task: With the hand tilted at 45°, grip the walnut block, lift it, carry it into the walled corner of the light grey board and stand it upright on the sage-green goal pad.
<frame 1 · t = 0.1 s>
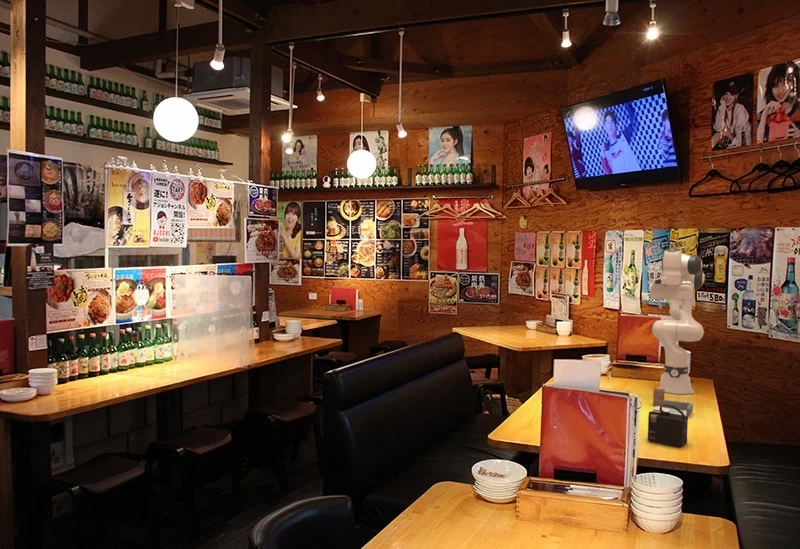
hand: (670, 308, 321), 48 cm above the table, tool pointing down, fingers open, 8 cm apart
black portable radio: (667, 442, 259), on the table
walnut block: (658, 405, 317), on the table
corner arena: (672, 413, 303), on the table
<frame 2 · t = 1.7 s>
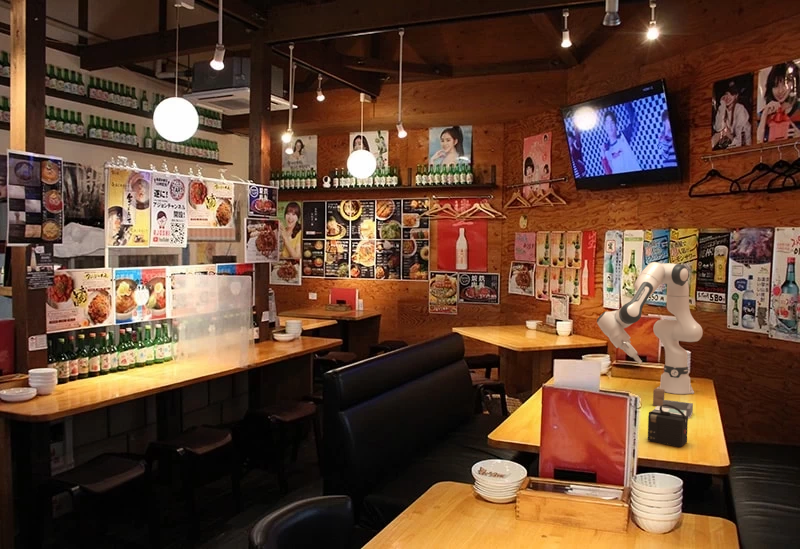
hand: (640, 362, 319), 21 cm above the table, tool tilted 40°, fingers open, 8 cm apart
nothing on the table moved.
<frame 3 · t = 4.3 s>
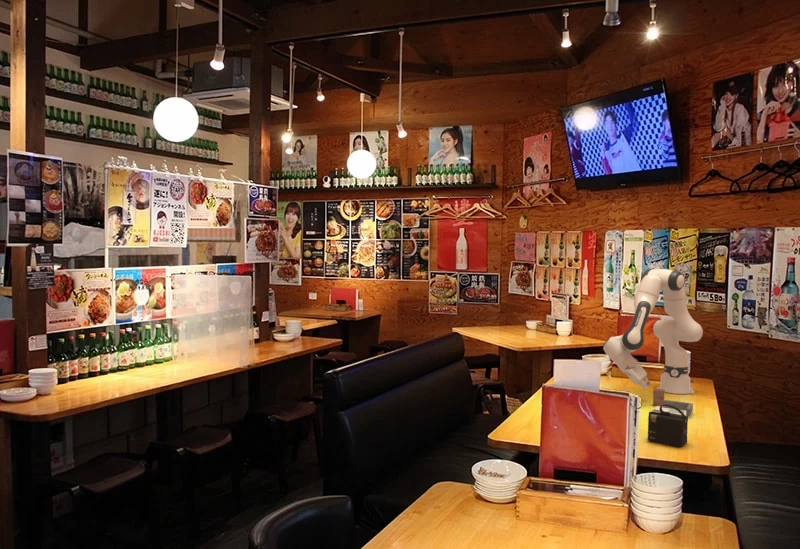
hand: (648, 386, 319), 9 cm above the table, tool tilted 45°, fingers open, 8 cm apart
nothing on the table moved.
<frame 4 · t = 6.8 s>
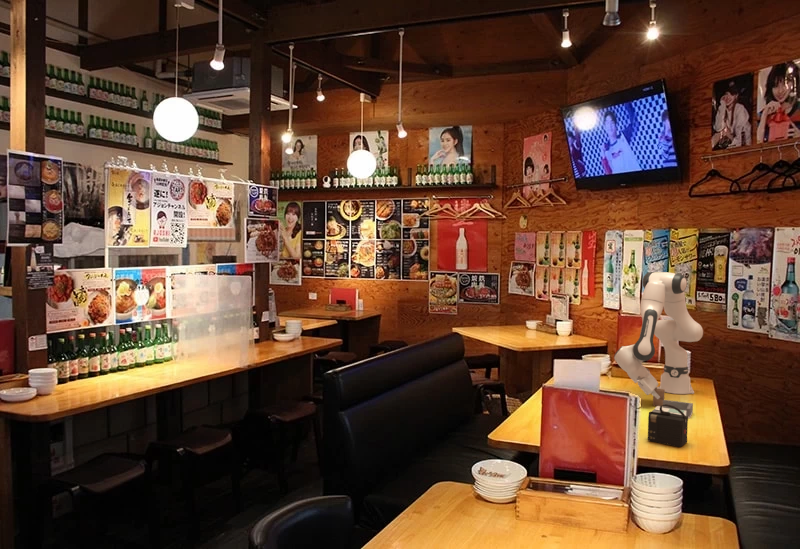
hand: (660, 397, 317), 4 cm above the table, tool tilted 45°, fingers closed on walnut block, 4 cm apart
walnut block: (658, 405, 317), on the table, touching gripper
everything else where it was.
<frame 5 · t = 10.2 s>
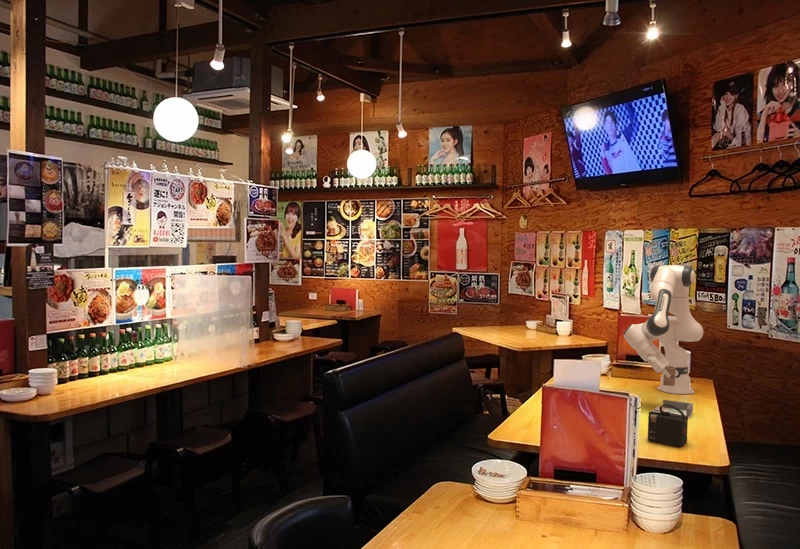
hand: (670, 375, 307), 17 cm above the table, tool tilted 45°, fingers closed on walnut block, 4 cm apart
walnut block: (669, 384, 308), point 12 cm above the table, touching gripper
everything else where it was.
when the fingers open (7 cm above the table, at t = 14.0 s): walnut block drops 1 cm, resting on corner arena.
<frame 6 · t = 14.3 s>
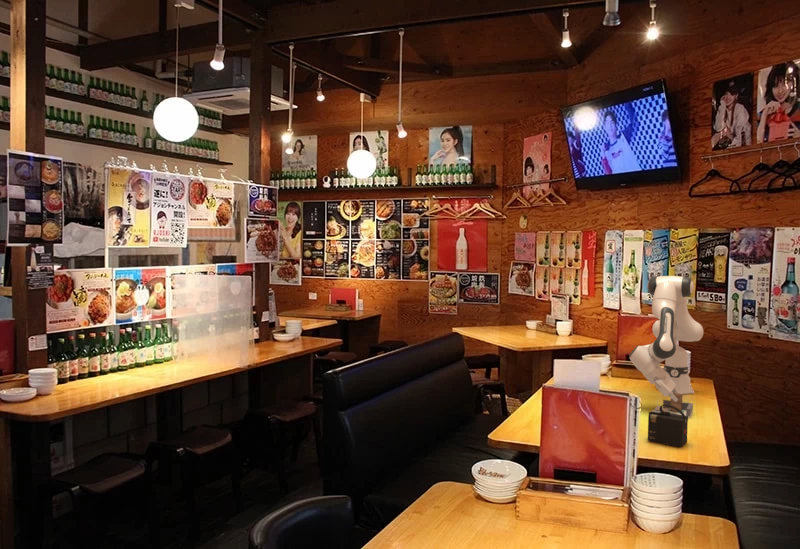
hand: (678, 398, 302), 7 cm above the table, tool tilted 45°, fingers open, 7 cm apart
walnut block: (676, 410, 303), point 1 cm above the table, touching corner arena
everything else where it was.
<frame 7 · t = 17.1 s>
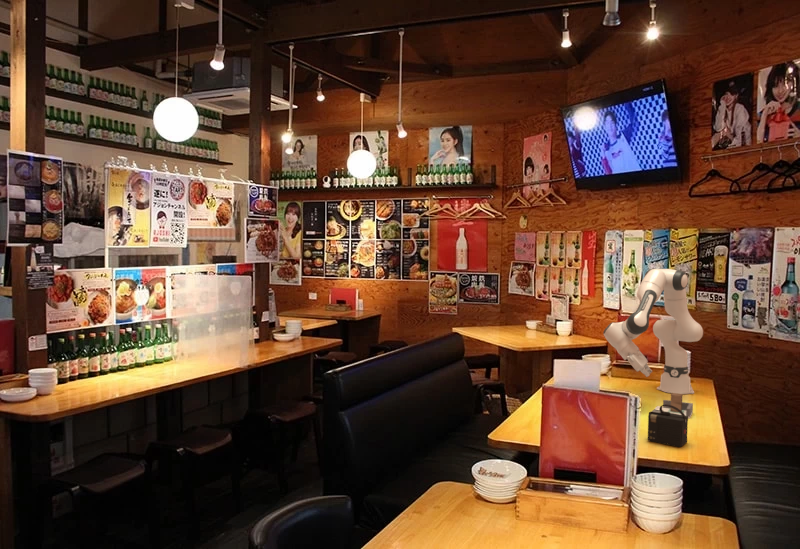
hand: (649, 374, 309), 17 cm above the table, tool tilted 45°, fingers open, 8 cm apart
nothing on the table moved.
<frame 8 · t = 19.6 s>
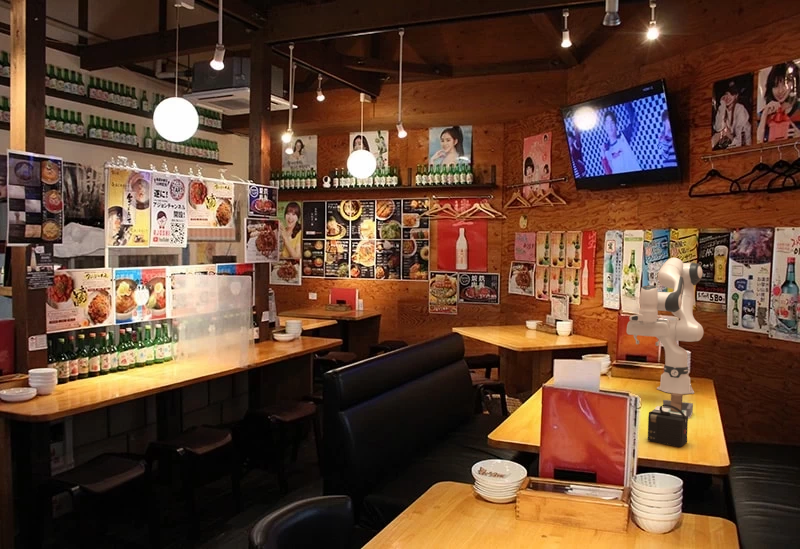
hand: (647, 344, 324), 29 cm above the table, tool pointing down, fingers open, 8 cm apart
nothing on the table moved.
at the end: walnut block 0.3 cm from the target spot, point 1.2 cm above the table; walnut block tilted 0°; the gripper is holding nothing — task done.
